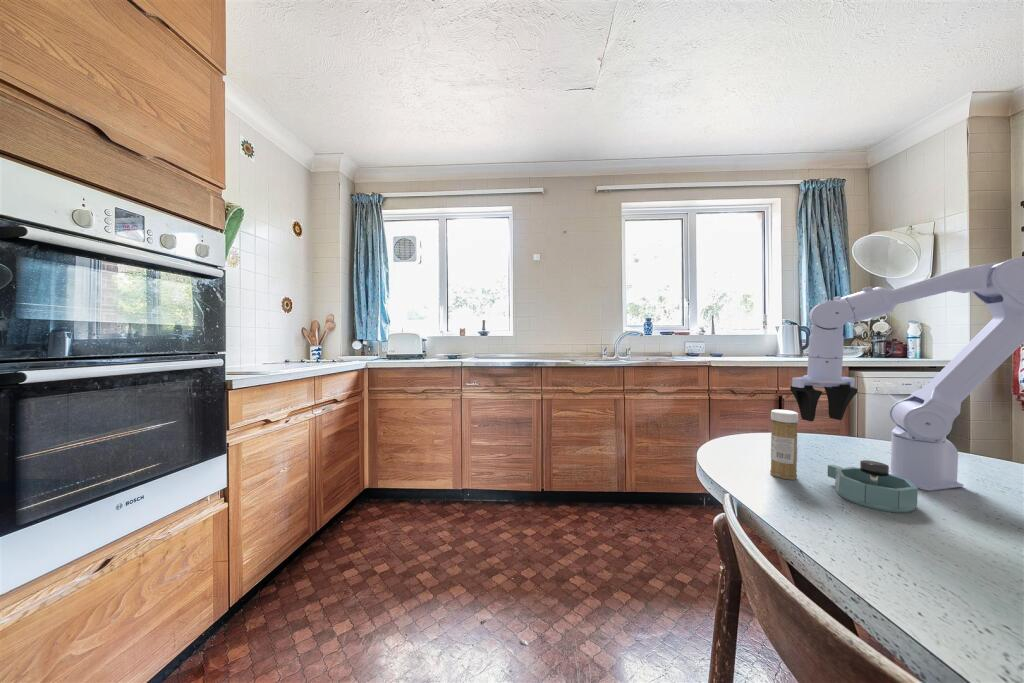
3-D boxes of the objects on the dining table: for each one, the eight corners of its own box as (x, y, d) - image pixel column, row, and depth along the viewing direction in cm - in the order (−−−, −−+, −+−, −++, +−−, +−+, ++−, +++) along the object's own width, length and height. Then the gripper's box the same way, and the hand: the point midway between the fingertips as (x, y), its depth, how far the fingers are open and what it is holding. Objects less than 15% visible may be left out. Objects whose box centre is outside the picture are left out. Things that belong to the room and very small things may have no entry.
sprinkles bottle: (800, 477, 76) (802, 411, 75) (791, 482, 73) (793, 414, 73) (775, 470, 79) (776, 407, 79) (765, 474, 77) (766, 410, 76)
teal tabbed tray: (850, 480, 74) (850, 461, 74) (931, 509, 62) (932, 487, 62) (809, 484, 72) (810, 465, 72) (885, 515, 60) (885, 492, 60)
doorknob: (866, 483, 70) (866, 455, 70) (914, 500, 63) (915, 469, 63) (835, 486, 68) (836, 458, 68) (881, 504, 61) (882, 473, 61)
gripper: (832, 355, 86) (829, 414, 86) (780, 356, 83) (777, 416, 83) (867, 358, 79) (863, 421, 79) (812, 358, 76) (808, 424, 76)
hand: (821, 419), depth 81 cm, fingers open, 7 cm apart
